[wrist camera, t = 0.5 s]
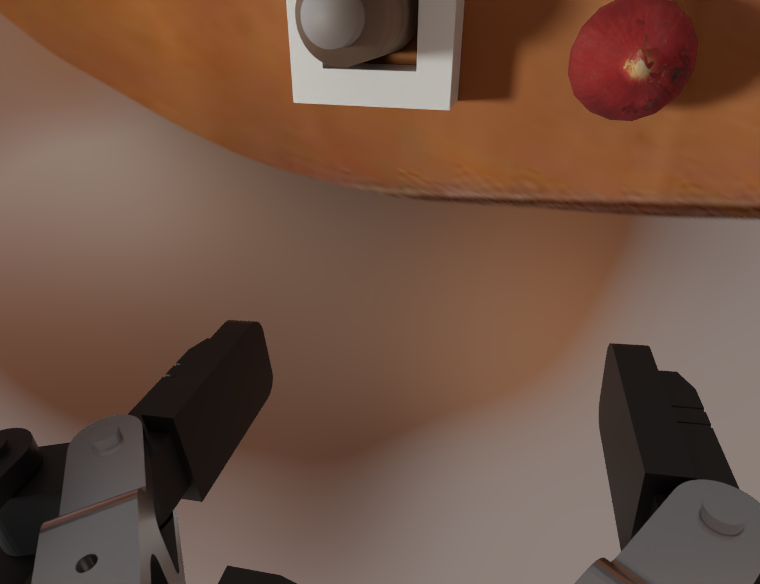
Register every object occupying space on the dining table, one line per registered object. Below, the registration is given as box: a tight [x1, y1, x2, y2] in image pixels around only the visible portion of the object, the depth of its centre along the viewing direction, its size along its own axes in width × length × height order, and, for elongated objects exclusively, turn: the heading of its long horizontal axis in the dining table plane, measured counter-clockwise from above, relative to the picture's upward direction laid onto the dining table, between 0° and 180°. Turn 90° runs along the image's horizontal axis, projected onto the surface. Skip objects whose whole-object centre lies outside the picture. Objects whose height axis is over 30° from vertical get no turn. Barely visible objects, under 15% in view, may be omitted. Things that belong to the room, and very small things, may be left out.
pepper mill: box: [295, 0, 419, 67], centre depth 28 cm, size 4×4×10 cm
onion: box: [568, 0, 698, 121], centre depth 26 cm, size 6×6×8 cm
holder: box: [286, 0, 465, 110], centre depth 30 cm, size 10×10×4 cm
